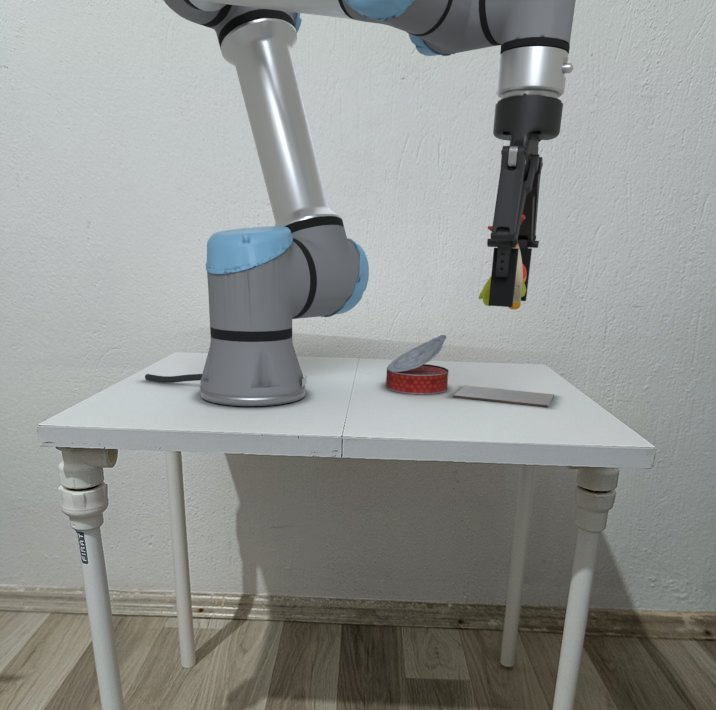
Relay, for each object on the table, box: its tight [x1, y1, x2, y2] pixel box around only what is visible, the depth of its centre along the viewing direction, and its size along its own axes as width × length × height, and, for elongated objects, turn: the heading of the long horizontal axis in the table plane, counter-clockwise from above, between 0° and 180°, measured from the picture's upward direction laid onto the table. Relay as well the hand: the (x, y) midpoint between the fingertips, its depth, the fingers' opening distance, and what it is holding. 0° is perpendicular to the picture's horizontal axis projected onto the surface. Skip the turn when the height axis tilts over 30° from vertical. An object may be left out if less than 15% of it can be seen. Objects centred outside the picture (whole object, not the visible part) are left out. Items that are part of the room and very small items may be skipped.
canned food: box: [385, 334, 450, 395], centre depth 105 cm, size 11×10×10 cm
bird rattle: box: [478, 215, 527, 310], centre depth 81 cm, size 6×11×9 cm
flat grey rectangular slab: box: [452, 385, 555, 408], centre depth 101 cm, size 14×8×1 cm, turn 68°
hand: (508, 302), depth 83 cm, fingers closed on bird rattle, 9 cm apart
